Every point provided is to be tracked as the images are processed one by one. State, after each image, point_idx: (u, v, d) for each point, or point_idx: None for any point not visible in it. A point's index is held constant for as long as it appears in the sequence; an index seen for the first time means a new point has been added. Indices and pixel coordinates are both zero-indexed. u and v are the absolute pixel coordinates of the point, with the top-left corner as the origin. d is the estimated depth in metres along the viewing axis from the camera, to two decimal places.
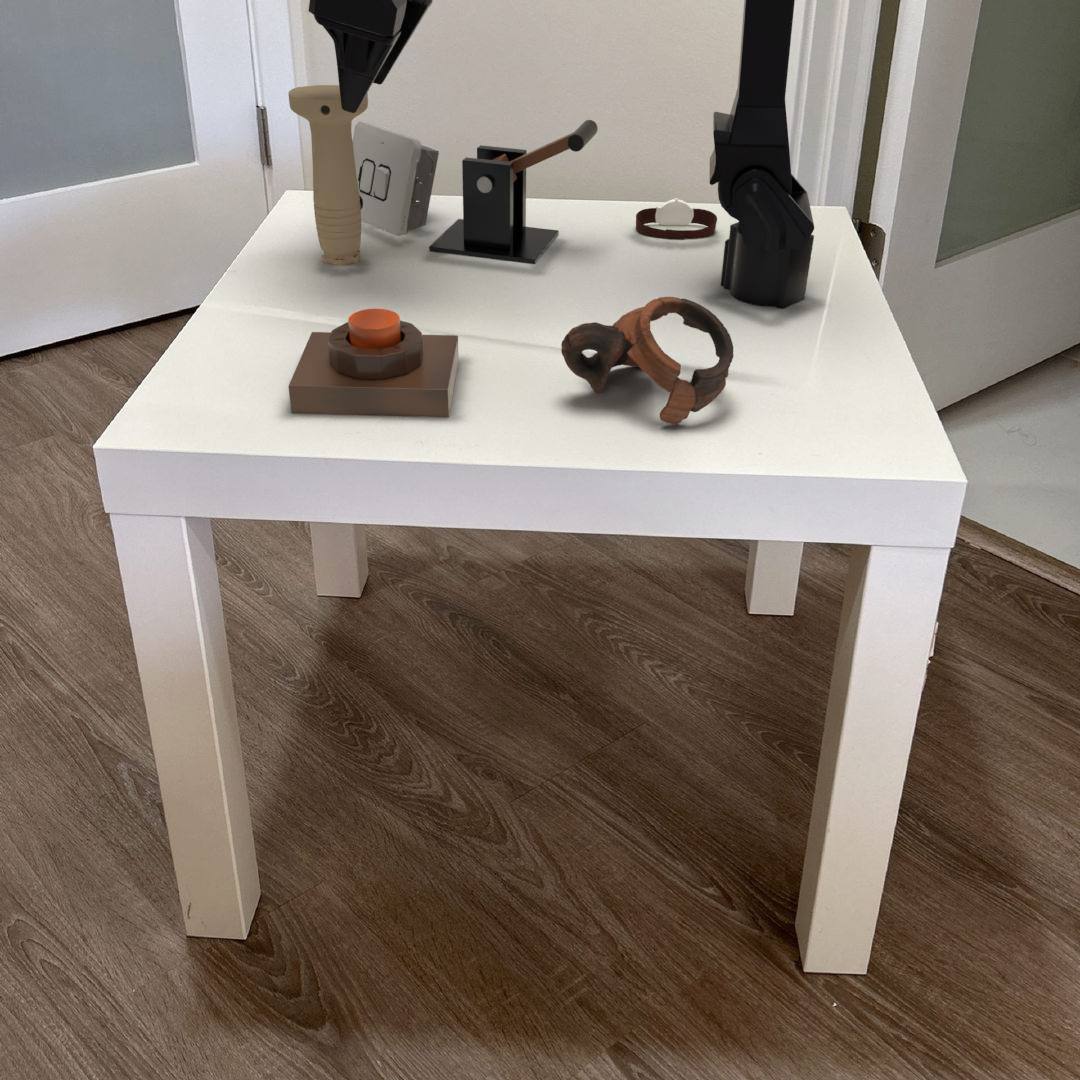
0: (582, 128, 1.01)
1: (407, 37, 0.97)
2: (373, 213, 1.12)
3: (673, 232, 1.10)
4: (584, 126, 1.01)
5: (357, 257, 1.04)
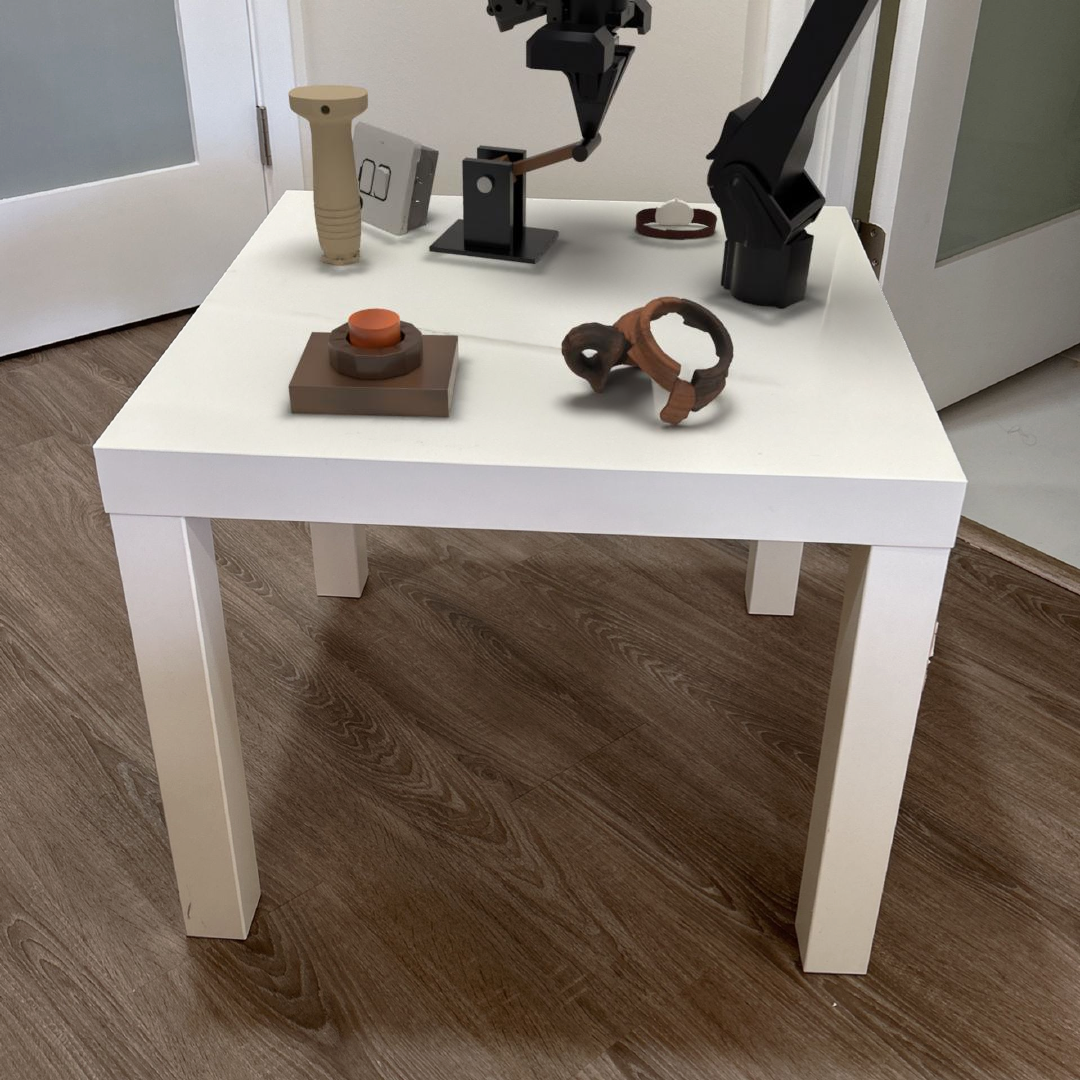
0: (587, 139, 1.01)
1: (614, 87, 0.99)
2: (373, 213, 1.12)
3: (673, 232, 1.10)
4: None
5: (357, 257, 1.04)
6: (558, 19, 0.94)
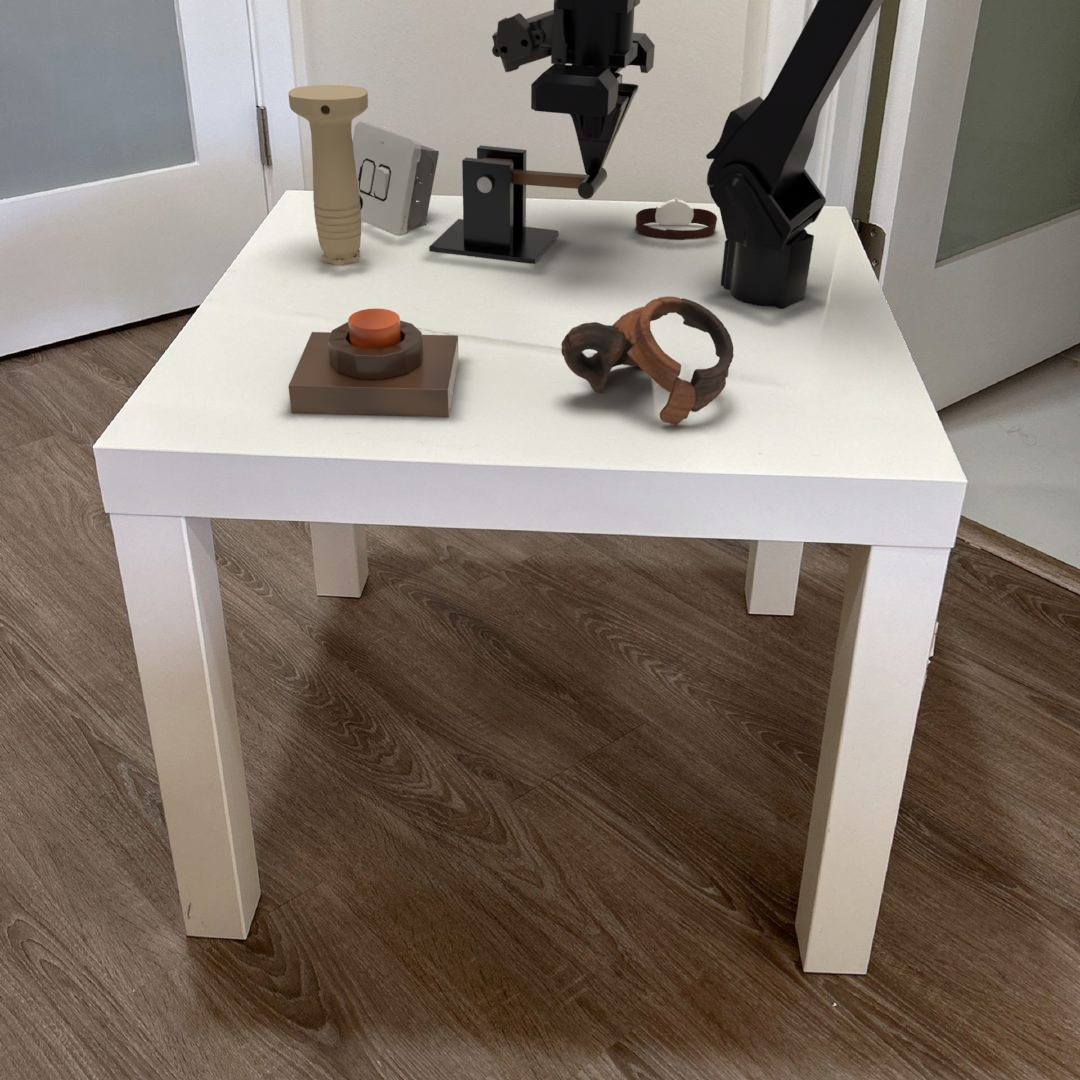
0: (595, 177, 1.03)
1: (617, 125, 1.00)
2: (373, 213, 1.12)
3: (673, 232, 1.10)
4: (597, 175, 1.03)
5: (357, 257, 1.04)
6: (563, 60, 0.96)
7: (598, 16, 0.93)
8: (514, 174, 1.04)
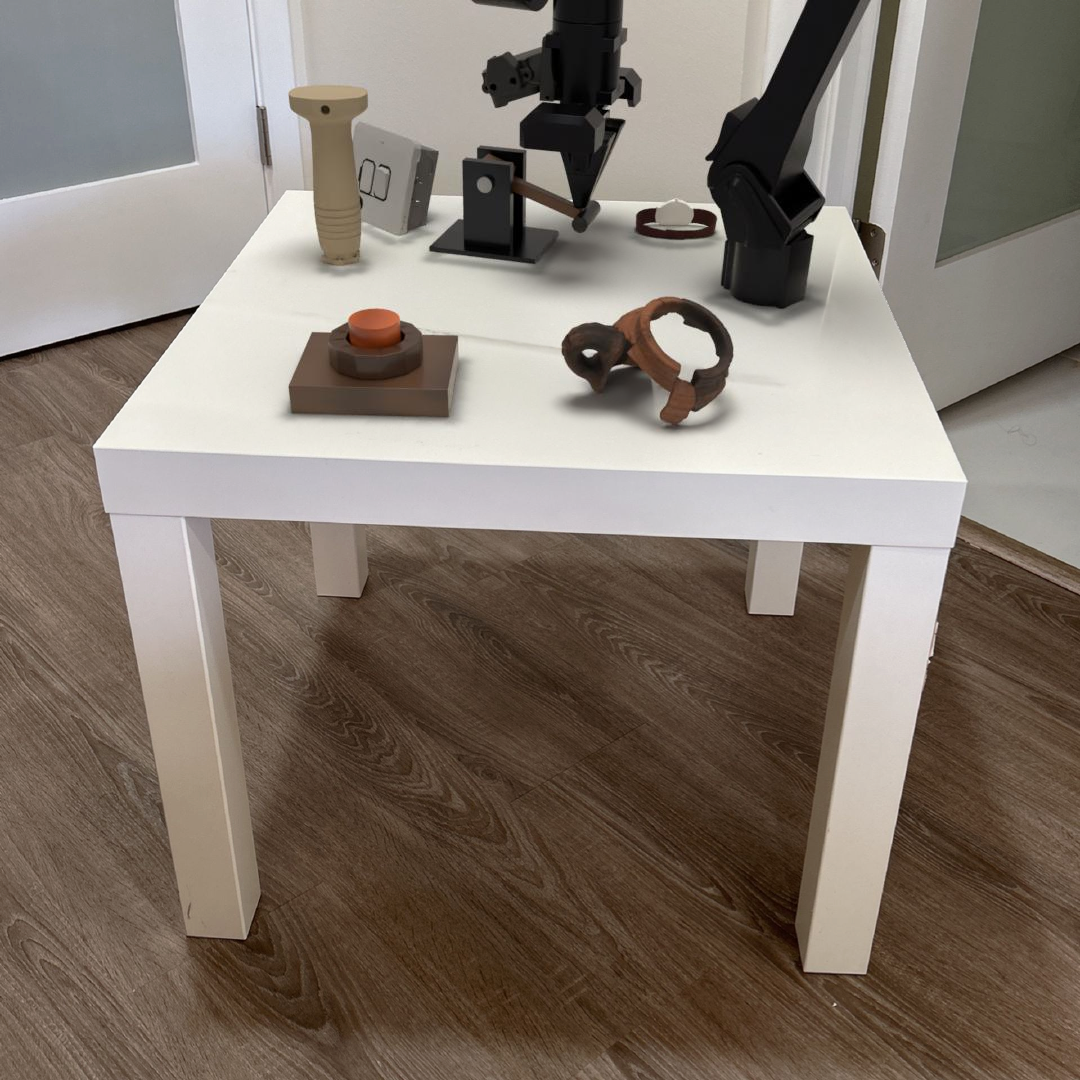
0: (591, 213, 1.04)
1: (605, 159, 1.02)
2: (373, 213, 1.12)
3: (673, 232, 1.10)
4: (593, 211, 1.05)
5: (357, 257, 1.04)
6: (551, 97, 0.98)
7: (585, 55, 0.95)
8: (514, 182, 1.05)
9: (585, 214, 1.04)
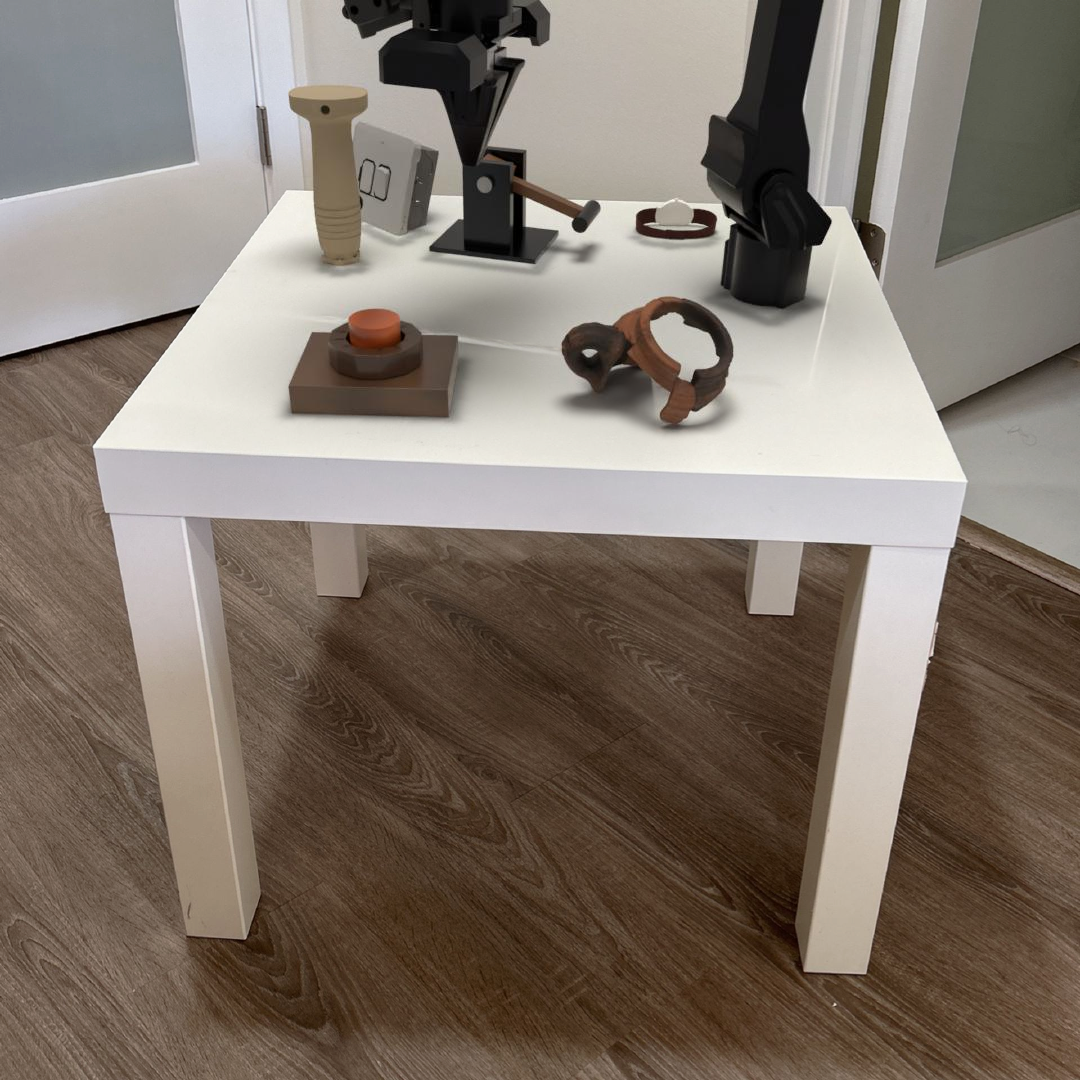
0: (591, 213, 1.04)
1: (498, 107, 0.84)
2: (373, 213, 1.12)
3: (673, 232, 1.10)
4: (593, 211, 1.05)
5: (357, 257, 1.04)
6: (426, 25, 0.79)
7: None
8: (514, 182, 1.05)
9: (585, 214, 1.04)
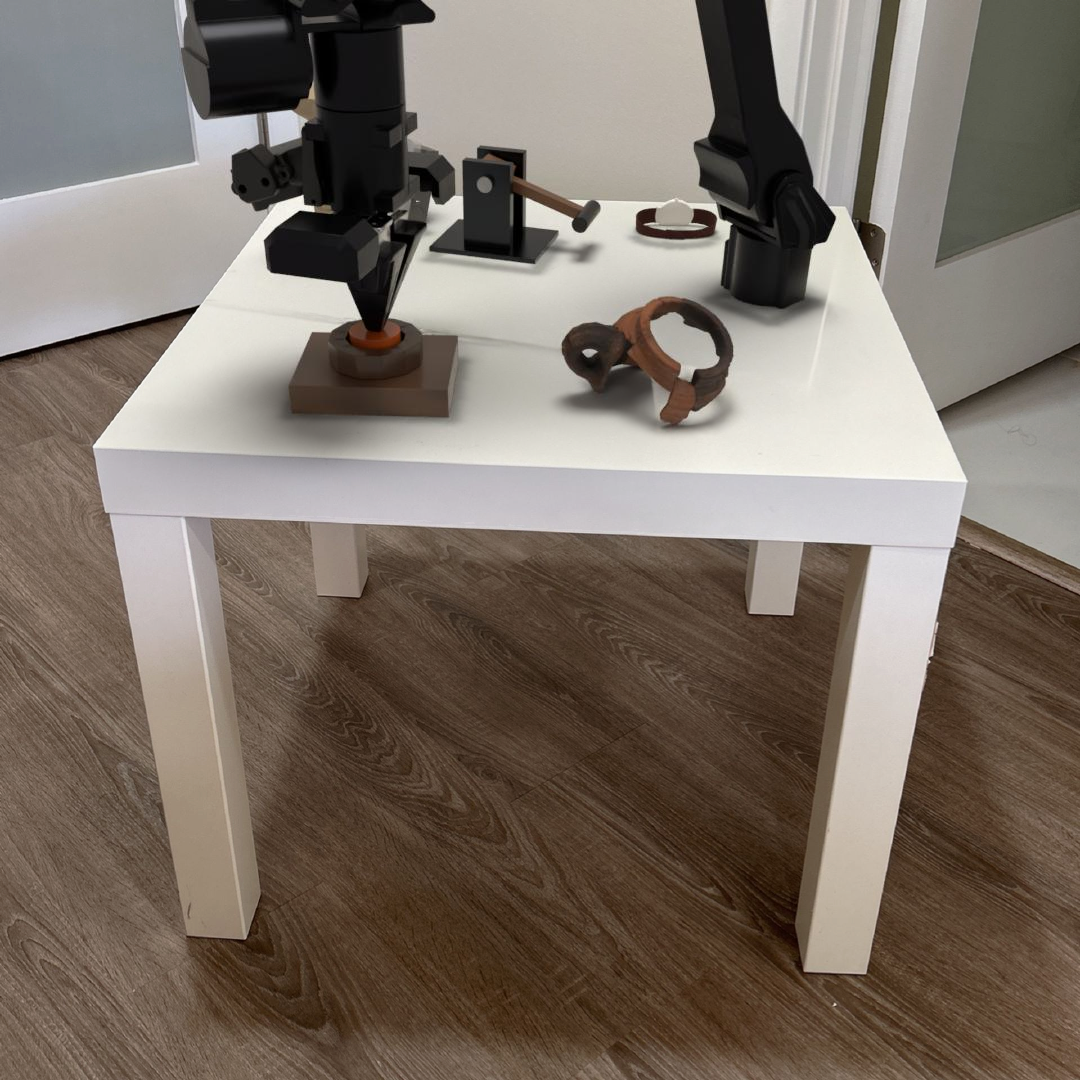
0: (591, 213, 1.04)
1: (399, 274, 0.81)
2: None
3: (673, 232, 1.10)
4: (593, 211, 1.05)
5: None
6: (317, 202, 0.76)
7: (354, 151, 0.74)
8: (514, 182, 1.05)
9: (585, 214, 1.04)
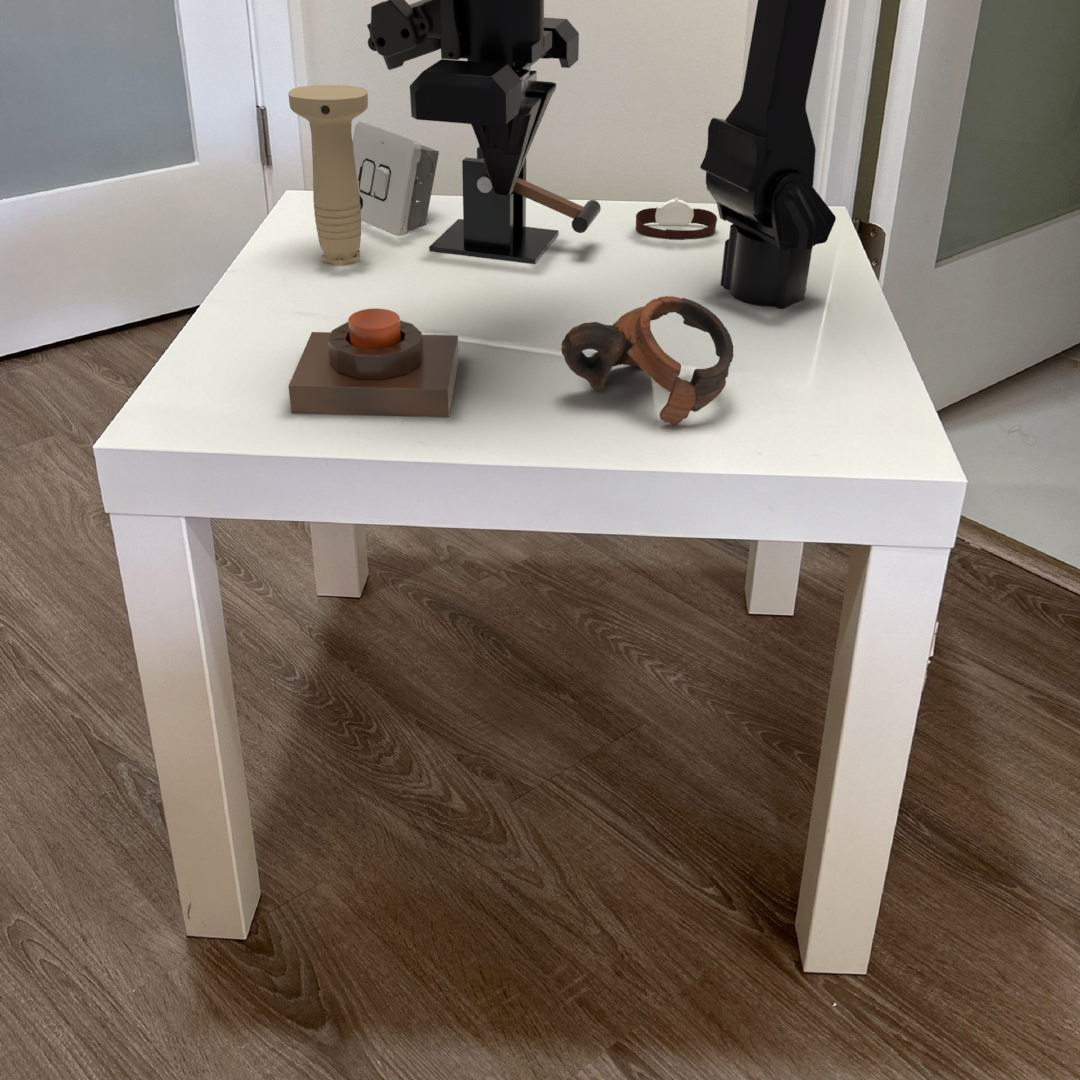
0: (591, 213, 1.04)
1: (530, 134, 0.81)
2: (373, 213, 1.12)
3: (673, 232, 1.10)
4: (593, 211, 1.05)
5: (357, 257, 1.04)
6: (455, 54, 0.76)
7: None
8: None
9: (585, 214, 1.04)
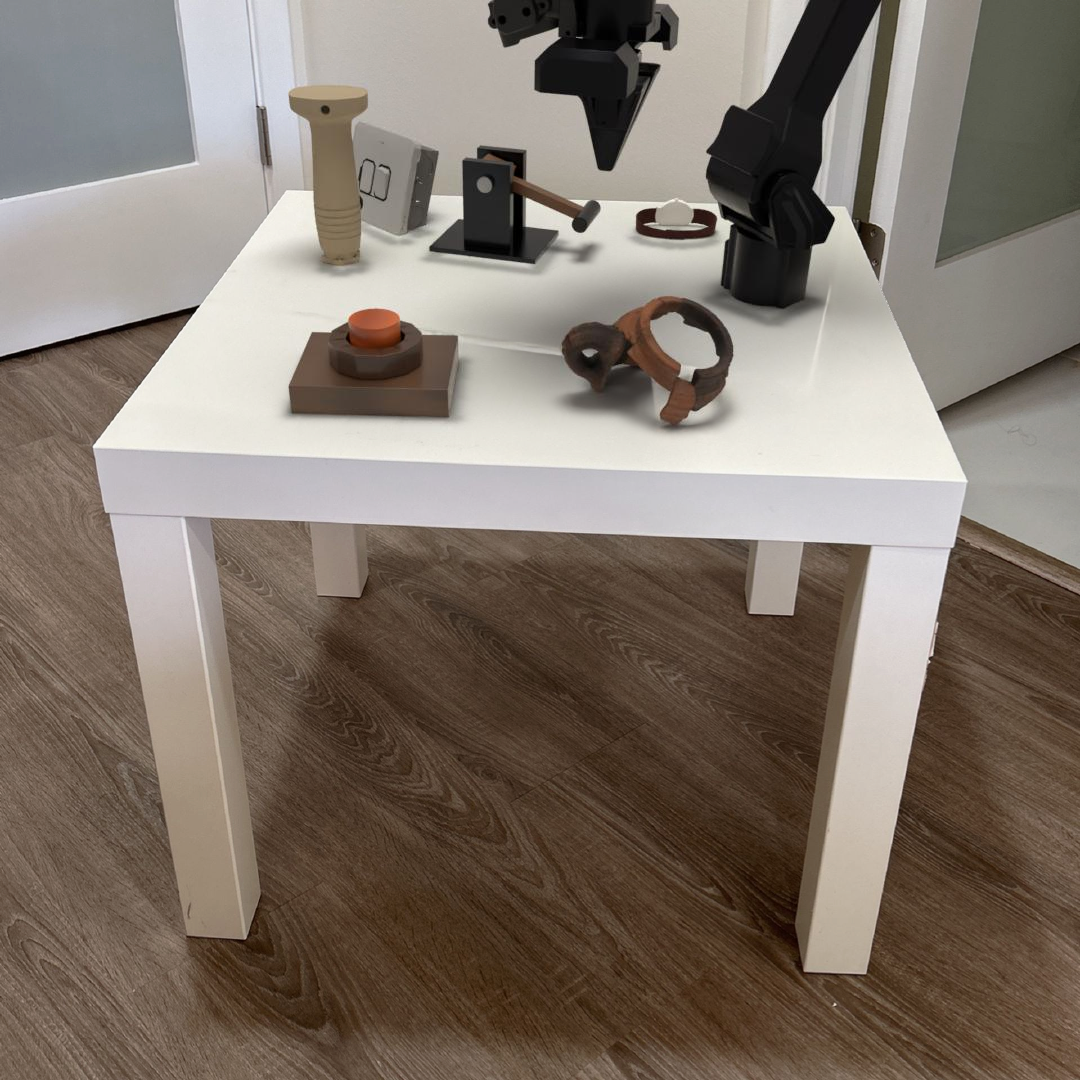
0: (591, 213, 1.04)
1: (636, 112, 0.85)
2: (373, 213, 1.12)
3: (673, 232, 1.10)
4: (593, 211, 1.05)
5: (357, 257, 1.04)
6: (572, 33, 0.80)
7: None
8: (514, 182, 1.05)
9: (585, 214, 1.04)
